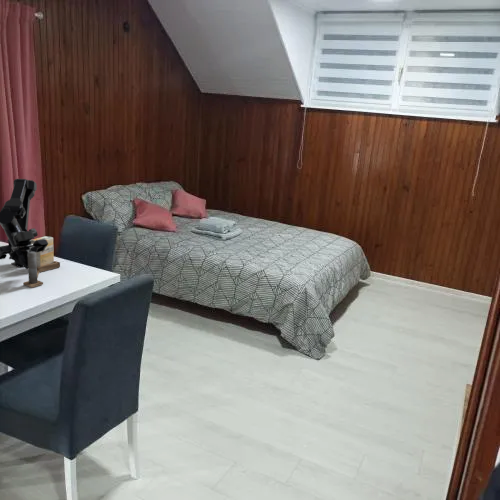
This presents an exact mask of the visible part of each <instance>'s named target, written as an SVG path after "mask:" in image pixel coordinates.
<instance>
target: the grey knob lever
mask: <svg viewBox="0 0 500 500" xmlns="http://www.w3.org/2000/svg"><path fill="white" fill-rule="evenodd" d="M60 267H61V262H60V261H57V260H54V263H52V264H48V265H44V266H40V267H37V260H36V252H28V269H27V270H28V273H27V274H28V280H27V281H24V282H22V283H23V285H24V286H25V287H29V288H35V287H38V286H42V285H44V282H43V281H40V280H38V278H39V275H40V273H41V272H46V271H50V270H53V269H58V268H60Z"/></svg>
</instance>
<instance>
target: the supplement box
mask: <svg viewBox="0 0 500 500" xmlns="http://www.w3.org/2000/svg"><path fill="white" fill-rule="evenodd" d="M40 239H46V240H47V242H48V245H47V246H46V248H45V249H44V250H43V251H41V252H36V260H37V267H40V266H44V265H48V264H52V263H54V261H55V260H54V258H55V257H54V256H55V255H54V254H55V253H54V237H52V236H46V235H45V236H41V237H37V238H34V239H31V244H34V242H35V241H36V240H40Z"/></svg>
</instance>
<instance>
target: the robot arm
mask: <svg viewBox="0 0 500 500" xmlns="http://www.w3.org/2000/svg"><path fill="white" fill-rule="evenodd" d="M37 186H38V185H37V182H36V181H35V180H33V179H32V180H31V179H26V178H15V179H14V180H13V188H12V192H11V195H10V198H9V199H8V200H7V201H5V203H4V205H3V206H2V207H1V209H0V227H2V229H3V230H4V233H5V235H6V237H7V245H2V246H1V245H0V260H4V259H6V258H7V255H9V257H8V259H9V260H13V262H11V263H10V264H11V265H13V266H16V267H18V268H24V269H26V270H28V252H41V251H43V250H44V249H45V248H46V246H47V245H48V242H47V240H46V239H40V240H36V241H35V242H34V244H31V240H33V239H35V238H36V237H38V231H37V229H36V228H30V229H28V227H29V225H28V224H29V216H30V215H29V214H30V206H31V205H30V204H31V200H32V199H33V198H34V197H35V194H36V192H37V188H38V187H37Z"/></svg>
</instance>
